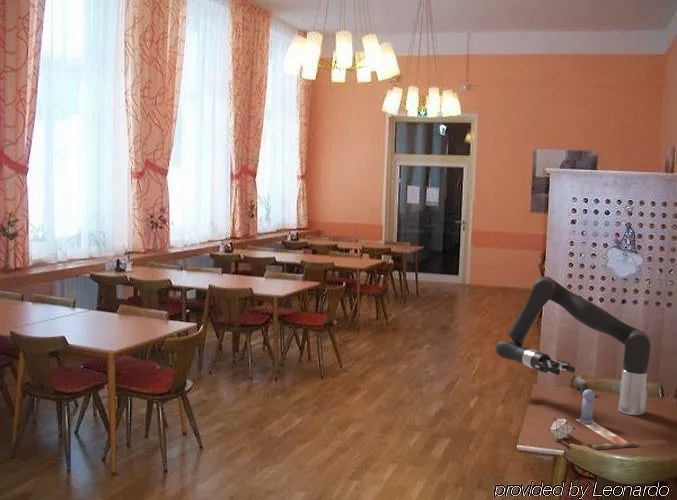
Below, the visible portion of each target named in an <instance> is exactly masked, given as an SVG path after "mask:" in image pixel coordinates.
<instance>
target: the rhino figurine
mask: <svg viewBox="0 0 677 500" xmlns="http://www.w3.org/2000/svg"><path fill="white" fill-rule="evenodd" d="M572 377H573V379H572V382H573V383H572V384H573V386H575V389H574V390H575V391H579V389H580V392H579V395H582V394H583V392H584V391H585V390H586V389H589V388H590V385H589V382H588V381H586V380H585V379H583V378H582V377H581V376H577V377H576V376H574V375H573V376H572Z"/></svg>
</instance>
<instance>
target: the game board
mask: <svg viewBox="0 0 677 500" xmlns="http://www.w3.org/2000/svg"><path fill="white" fill-rule="evenodd" d="M579 420H580V418H578V419H577V418H576V419H575V421H577V422H578V423H580V424H582V425H584V426H585V427H587V428H589V429H590V430H591V431H593V432H595V433H596V434H599V436H601V437H604V439H607V440H608V441H610V442H605V443H603V442H602V443H592V444H590V443H589V444H587V446H588V447H589V448H591V449H593V448H594V449H593V450H601V449H617V448H628V447H629V448H631V447H638V446H639V443H638V442H636V441H635V440H632V441H631V440H630V441H627V440H625V439H623V438H621V437H620V436H618V435H617V434H615V433H613V432H611V431H610V430H608V429H607V428H605V427H603V426H601V425H600V424H598V423H596V422H594V421H593V424H584V423H581V422H580V421H579Z"/></svg>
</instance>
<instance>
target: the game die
mask: <svg viewBox="0 0 677 500" xmlns="http://www.w3.org/2000/svg"><path fill="white" fill-rule="evenodd" d="M553 420H554V421H553V423H552V424H551V426H550V428H549V429H547V431H550V432H551V434H552V435H553V436H554V437H555V438H556V442H558V441H559V440H563V439H565V440H566V439H569V438H570V437H571V434H572V432H573V431H574V430H576V427H573V426H572V425H571V423H570V422H569V421H568V420H567V416H565V417H564V418H557V419H556V418H555V417H553Z"/></svg>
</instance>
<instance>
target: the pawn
mask: <svg viewBox="0 0 677 500" xmlns="http://www.w3.org/2000/svg"><path fill="white" fill-rule="evenodd" d="M582 393H583V394H581V395H582V402H581V403H582V404H581V415H580V417H579V419H580V420H579V421H580V422H581V423H580V422H579V421H578V422H579V423H580V424H582V423H584V424H592V425H594V424H593V422H594V418H593V415H594V404H595V399H596V393H595V391H594V390H593V389H586V390H585V389H584V391H583V392H582Z"/></svg>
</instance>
